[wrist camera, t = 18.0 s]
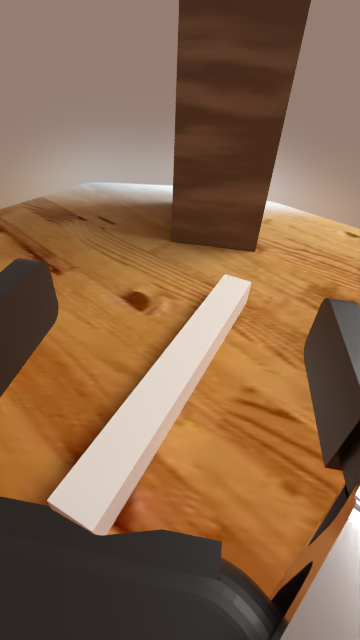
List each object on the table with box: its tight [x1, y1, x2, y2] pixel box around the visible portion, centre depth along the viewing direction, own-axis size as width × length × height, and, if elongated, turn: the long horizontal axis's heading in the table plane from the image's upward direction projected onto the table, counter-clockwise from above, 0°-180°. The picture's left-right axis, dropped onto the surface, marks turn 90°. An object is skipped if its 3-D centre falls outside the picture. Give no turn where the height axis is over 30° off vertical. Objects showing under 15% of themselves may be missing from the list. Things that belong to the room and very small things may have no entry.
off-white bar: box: [47, 274, 251, 535], centre depth 26 cm, size 26×3×3 cm, turn 153°
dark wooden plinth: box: [171, 0, 311, 251], centre depth 41 cm, size 16×12×32 cm
